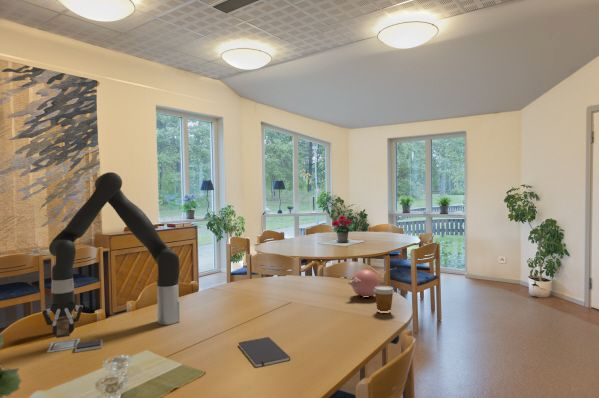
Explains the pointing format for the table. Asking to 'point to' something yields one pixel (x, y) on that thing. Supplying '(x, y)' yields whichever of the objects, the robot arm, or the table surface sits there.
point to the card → (63, 345)
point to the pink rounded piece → (364, 283)
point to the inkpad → (88, 345)
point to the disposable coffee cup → (383, 297)
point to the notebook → (263, 351)
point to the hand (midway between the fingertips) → (63, 333)
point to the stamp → (63, 327)
